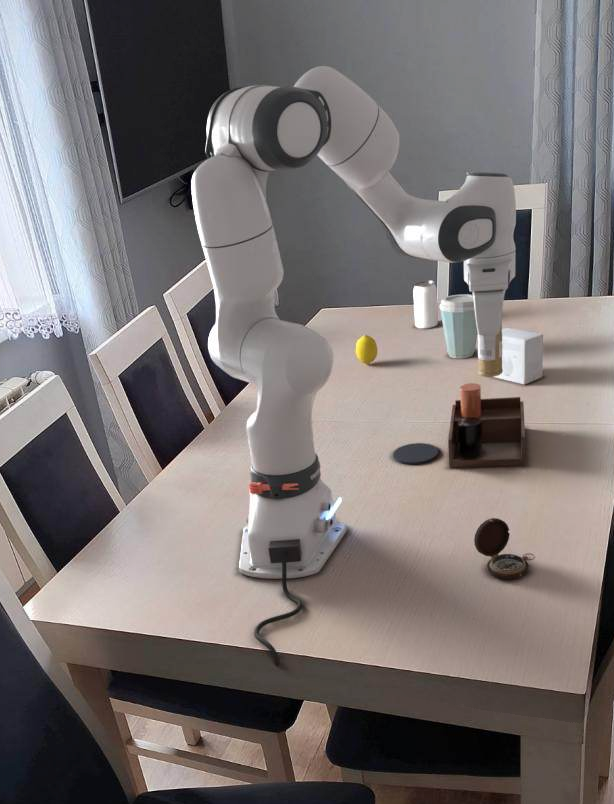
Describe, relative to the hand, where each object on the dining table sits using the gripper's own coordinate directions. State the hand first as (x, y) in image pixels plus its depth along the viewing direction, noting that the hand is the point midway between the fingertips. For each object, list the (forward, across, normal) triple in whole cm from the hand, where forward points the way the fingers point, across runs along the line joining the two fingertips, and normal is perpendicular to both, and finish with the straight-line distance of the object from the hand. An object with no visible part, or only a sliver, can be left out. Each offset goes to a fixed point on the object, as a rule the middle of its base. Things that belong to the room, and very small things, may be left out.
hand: (489, 344), depth 161 cm
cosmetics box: (+22, -42, +5) cm, 48 cm away
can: (+22, -87, -19) cm, 91 cm away
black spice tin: (+22, 0, -4) cm, 23 cm away
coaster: (+22, -1, -15) cm, 27 cm away
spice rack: (+22, -3, -1) cm, 22 cm away
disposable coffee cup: (+22, -60, -8) cm, 64 cm away
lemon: (+22, -57, -32) cm, 69 cm away
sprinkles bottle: (+6, 0, 0) cm, 6 cm away
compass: (+23, +41, +4) cm, 47 cm away
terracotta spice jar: (+17, -8, -4) cm, 20 cm away
